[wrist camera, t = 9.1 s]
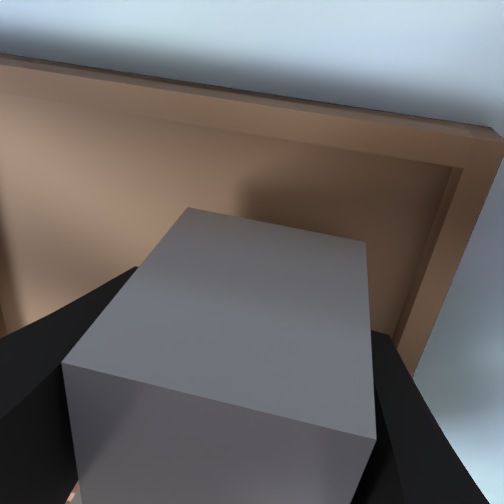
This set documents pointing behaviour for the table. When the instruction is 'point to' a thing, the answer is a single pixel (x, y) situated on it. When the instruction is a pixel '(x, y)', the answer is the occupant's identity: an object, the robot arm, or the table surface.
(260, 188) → the walnut tray
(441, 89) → the table surface
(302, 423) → the block
